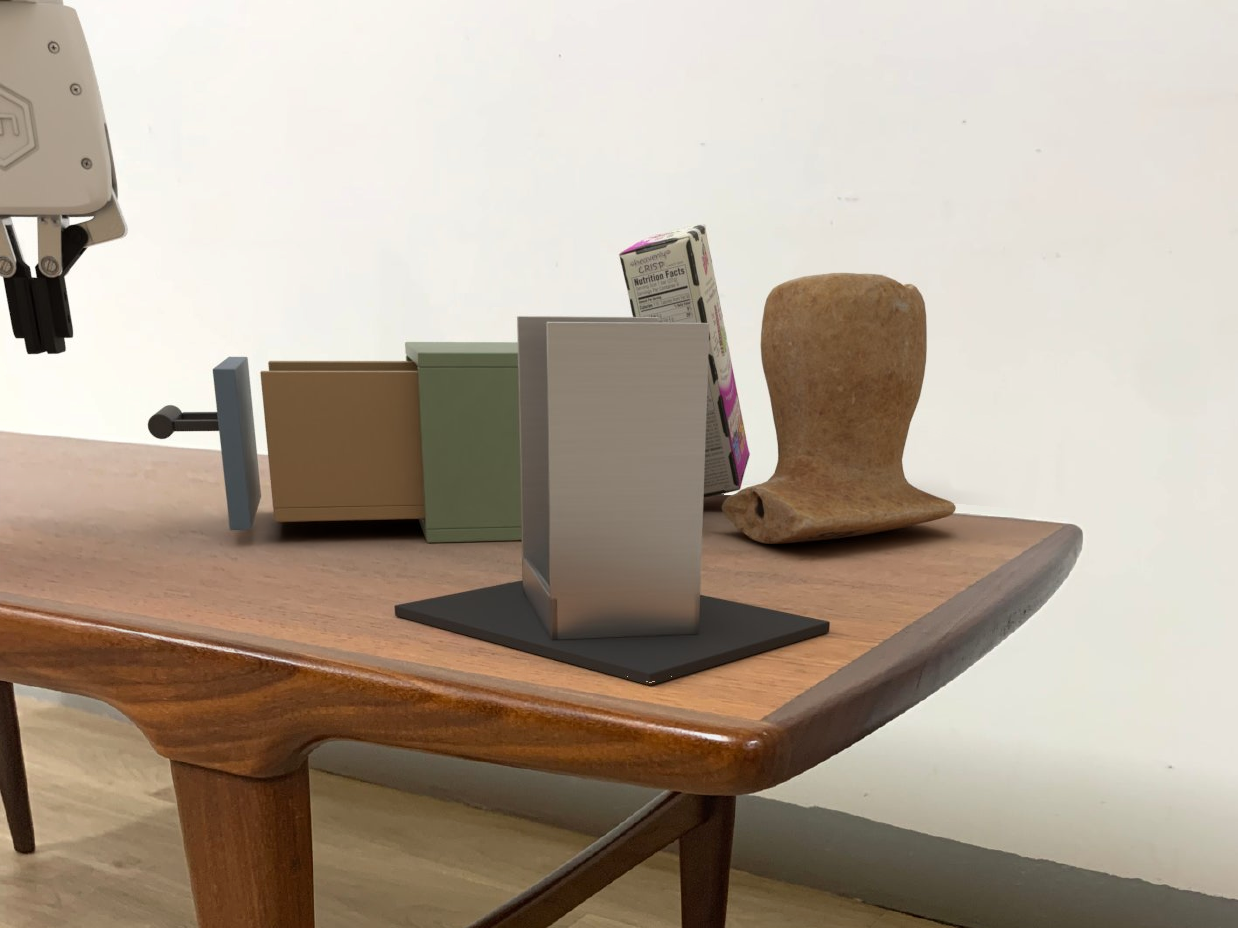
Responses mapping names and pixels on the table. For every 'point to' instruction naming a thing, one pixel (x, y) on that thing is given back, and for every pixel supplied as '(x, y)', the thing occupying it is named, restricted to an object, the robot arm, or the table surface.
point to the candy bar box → (687, 293)
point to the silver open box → (612, 473)
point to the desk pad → (642, 659)
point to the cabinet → (469, 440)
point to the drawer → (316, 439)
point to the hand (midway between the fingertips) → (46, 352)
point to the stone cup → (839, 410)
